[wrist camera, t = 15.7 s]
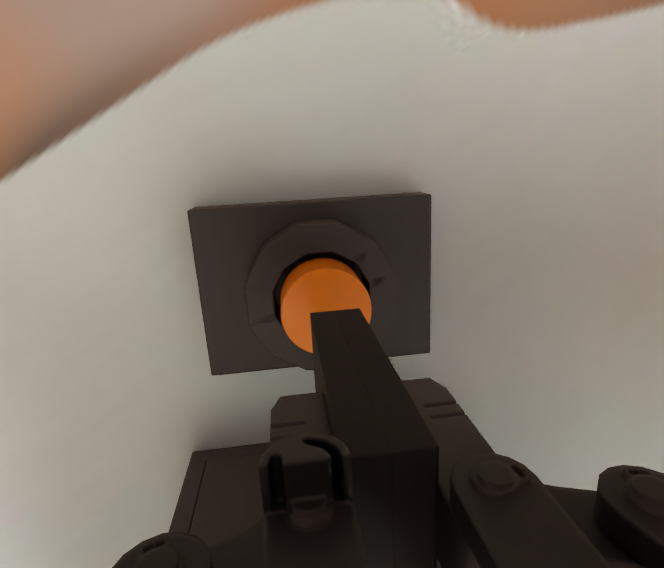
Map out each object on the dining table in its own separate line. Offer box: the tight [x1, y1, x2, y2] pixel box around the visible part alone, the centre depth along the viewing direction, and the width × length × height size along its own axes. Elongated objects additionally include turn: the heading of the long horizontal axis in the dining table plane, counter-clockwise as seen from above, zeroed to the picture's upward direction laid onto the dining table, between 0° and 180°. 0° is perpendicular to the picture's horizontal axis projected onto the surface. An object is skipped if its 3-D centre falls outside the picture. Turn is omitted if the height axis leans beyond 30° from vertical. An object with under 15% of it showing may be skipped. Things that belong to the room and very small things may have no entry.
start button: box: [280, 258, 372, 353], centre depth 18 cm, size 4×4×2 cm
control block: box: [188, 192, 431, 375], centre depth 20 cm, size 8×11×4 cm
